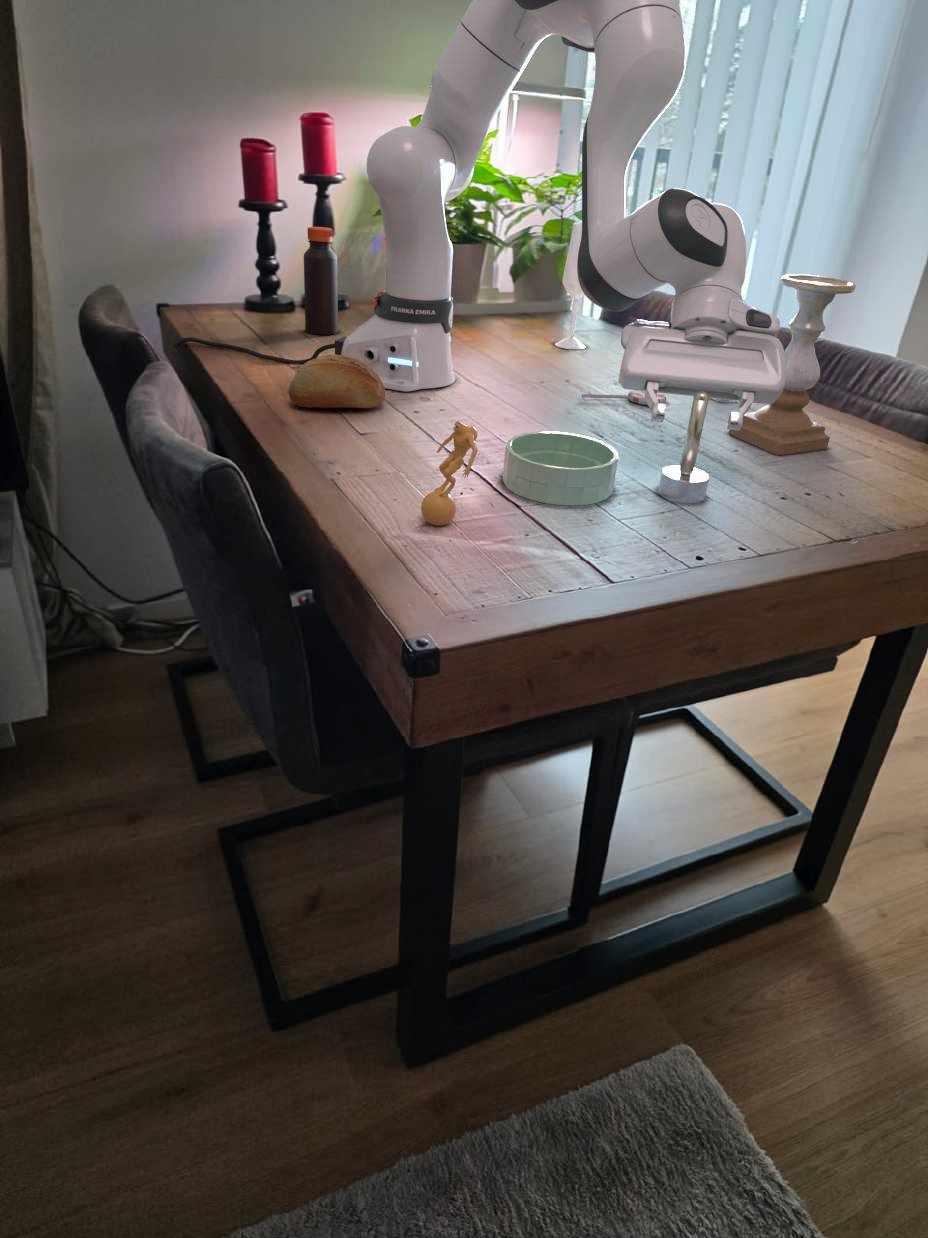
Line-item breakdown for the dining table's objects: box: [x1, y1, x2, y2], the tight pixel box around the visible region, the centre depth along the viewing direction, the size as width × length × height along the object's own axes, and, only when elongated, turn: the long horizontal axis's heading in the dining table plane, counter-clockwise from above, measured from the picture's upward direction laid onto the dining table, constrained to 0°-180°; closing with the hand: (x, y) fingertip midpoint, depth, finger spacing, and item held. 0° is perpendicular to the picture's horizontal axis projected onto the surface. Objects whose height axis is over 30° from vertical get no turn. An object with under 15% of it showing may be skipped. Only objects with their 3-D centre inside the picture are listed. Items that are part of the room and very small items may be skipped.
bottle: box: [303, 226, 339, 336], centre depth 175 cm, size 7×7×20 cm
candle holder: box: [728, 274, 857, 456], centre depth 128 cm, size 11×11×24 cm
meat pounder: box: [658, 391, 710, 504], centre depth 108 cm, size 6×6×14 cm
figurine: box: [420, 420, 478, 527], centre depth 95 cm, size 8×6×12 cm
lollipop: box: [581, 390, 667, 406], centre depth 148 cm, size 7×1×15 cm
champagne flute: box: [554, 222, 586, 350], centre depth 178 cm, size 7×7×24 cm
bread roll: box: [288, 354, 386, 409], centre depth 132 cm, size 10×15×8 cm, turn 97°
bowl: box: [502, 431, 619, 507], centre depth 110 cm, size 14×14×5 cm
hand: (695, 423), depth 106 cm, fingers open, 8 cm apart
